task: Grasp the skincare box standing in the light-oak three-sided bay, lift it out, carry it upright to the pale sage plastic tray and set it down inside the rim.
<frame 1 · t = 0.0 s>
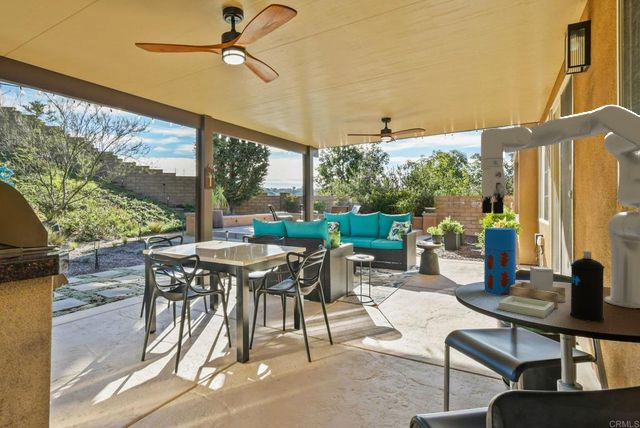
hand: (492, 213, 122), 31 cm above the table, tool pointing down, fingers open, 9 cm apart
aerosol can: (586, 318, 105), on the table
skincare box: (541, 302, 122), on the table
tray: (526, 309, 113), on the table
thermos: (499, 292, 136), on the table
bay: (541, 301, 122), on the table
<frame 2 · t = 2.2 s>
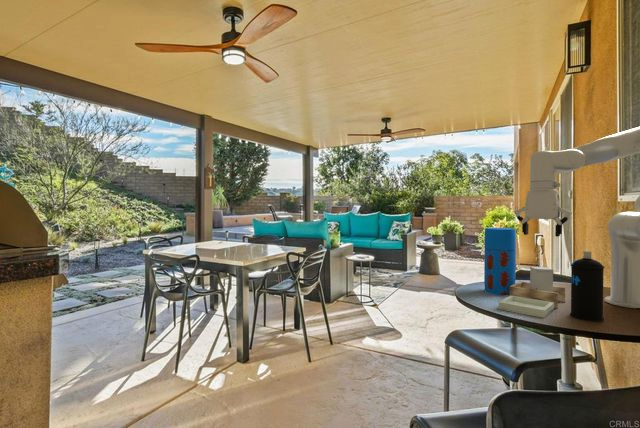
hand: (541, 235, 122), 23 cm above the table, tool pointing down, fingers open, 9 cm apart
nothing on the table moved.
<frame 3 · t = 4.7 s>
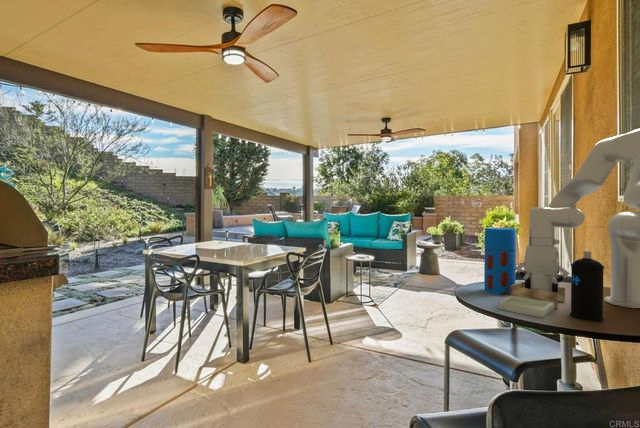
hand: (541, 292, 122), 3 cm above the table, tool pointing down, fingers closed on skincare box, 7 cm apart
skincare box: (541, 302, 122), on the table, touching gripper
everything else where it was.
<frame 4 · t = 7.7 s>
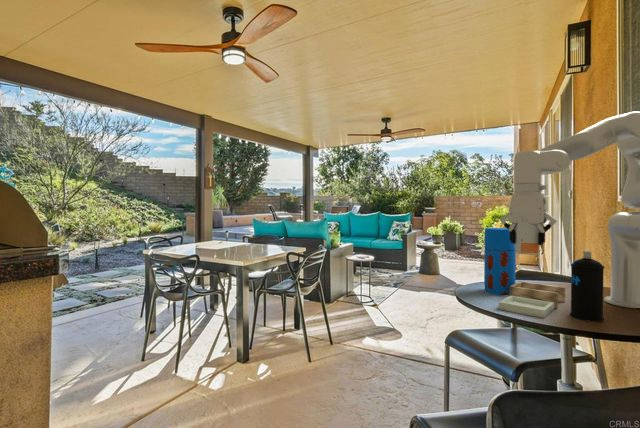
hand: (526, 243, 112), 22 cm above the table, tool pointing down, fingers closed on skincare box, 7 cm apart
skincare box: (527, 254, 113), point 18 cm above the table, touching gripper
everything else where it was.
when the fingers open (5 cm above the table, at t = 11.0 s): skincare box drops 1 cm, resting on tray.
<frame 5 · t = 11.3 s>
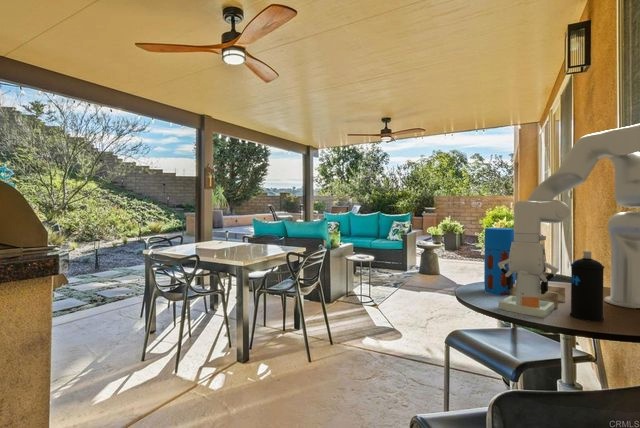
hand: (526, 290, 113), 6 cm above the table, tool pointing down, fingers open, 9 cm apart
skincare box: (527, 307, 113), point 1 cm above the table, touching tray
everything else where it was.
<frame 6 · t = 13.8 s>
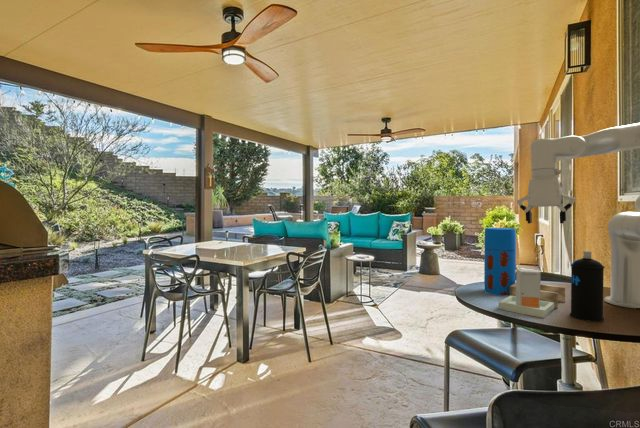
hand: (545, 223, 121), 28 cm above the table, tool pointing down, fingers open, 9 cm apart
nothing on the table moved.
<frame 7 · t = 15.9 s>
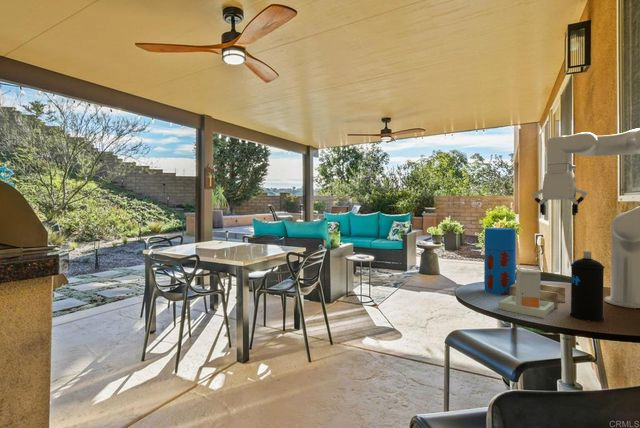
hand: (558, 215, 130), 30 cm above the table, tool pointing down, fingers open, 9 cm apart
nothing on the table moved.
at the end: skincare box inside the target area on the tray (0.4 cm from its centre), point 0.6 cm above the tray's base; skincare box tilted 0°; the gripper is holding nothing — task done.
